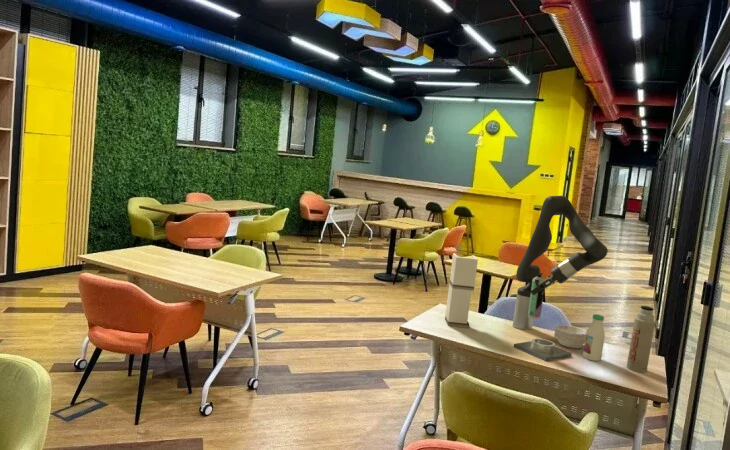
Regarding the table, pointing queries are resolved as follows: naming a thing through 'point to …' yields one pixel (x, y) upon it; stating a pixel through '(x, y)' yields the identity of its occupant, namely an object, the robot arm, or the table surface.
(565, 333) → the paper bowls
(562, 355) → the collar plate
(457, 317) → the banded white pillar
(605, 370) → the table surface
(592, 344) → the milk bottle
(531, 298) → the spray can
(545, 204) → the robot arm
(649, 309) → the thermos bottle
